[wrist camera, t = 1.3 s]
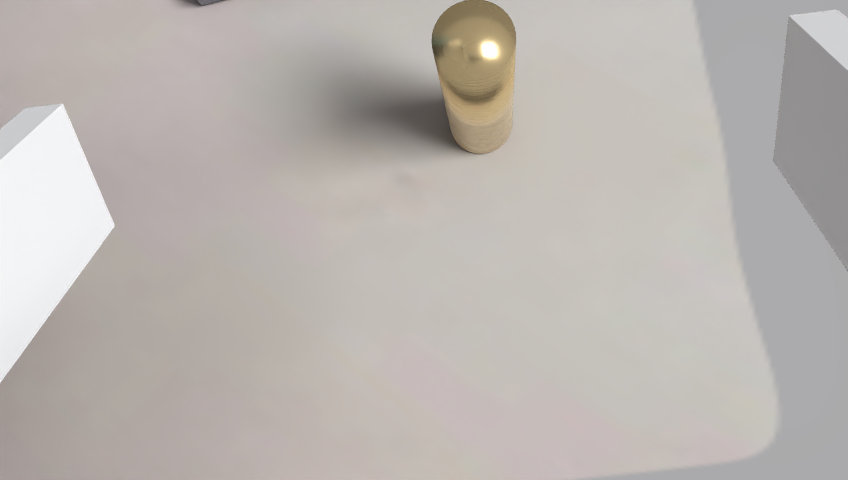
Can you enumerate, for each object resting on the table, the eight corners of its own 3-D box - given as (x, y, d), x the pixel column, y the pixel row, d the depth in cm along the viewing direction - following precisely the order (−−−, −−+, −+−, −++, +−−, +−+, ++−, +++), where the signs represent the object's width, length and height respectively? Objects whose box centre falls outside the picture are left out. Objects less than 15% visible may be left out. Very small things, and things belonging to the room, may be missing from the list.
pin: (446, 150, 40) (426, 75, 30) (454, 91, 41) (437, -5, 30) (508, 157, 40) (510, 83, 29) (515, 97, 41) (520, 3, 30)
